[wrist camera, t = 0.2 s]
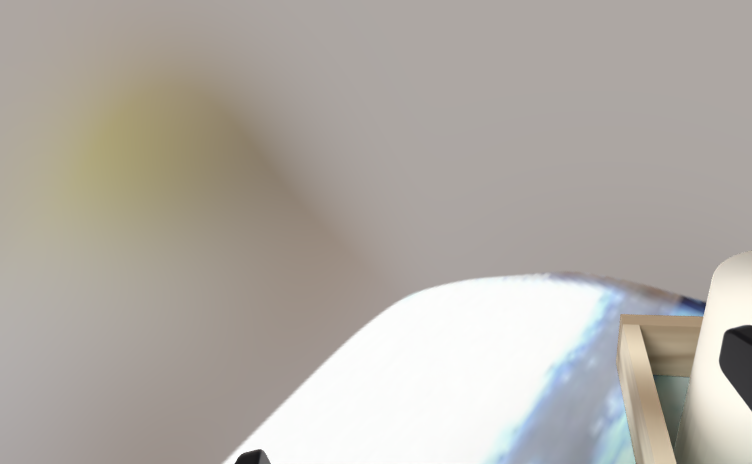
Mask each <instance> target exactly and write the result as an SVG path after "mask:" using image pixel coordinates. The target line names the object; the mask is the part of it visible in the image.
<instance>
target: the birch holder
mask: <svg viewBox="0 0 752 464" xmlns="http://www.w3.org/2000/svg"><path fill="white" fill-rule="evenodd" d="M702 321H703V317H699V316H663V315H628V314H621V315H620V326H619V337H618V347H617V358H616V364H617V369H618V374H619V379H620V385H621V390H622V395H623V400H624V405H625V410H626V415H627V420H628V425H629V430H630V435H631V441H632V446H633V451H634V456H635V461H636V464H676V460H675V456H674V452H673V449H672V445H671V441H670V438H669V434H668V430H667V426H666V423H665V419H664V415H663V412H662V408H661V404H660V400H659V397H658V393H657V389H656V386H655V382H654V378H653V375H666V376H681V377H690V375H691V370H692V366H693V362H694V357H695V353H696V348H697V344H698V339H699V335H700V330H701V326H702Z"/></svg>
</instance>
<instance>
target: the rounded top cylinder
mask: <svg viewBox="0 0 752 464" xmlns="http://www.w3.org/2000/svg"><path fill="white" fill-rule="evenodd" d="M742 325H752V250H751V251H746V252H743V253H739V254H737V255H735V256H732V257H730V258H728V259H727V260H725V261H723V262H722V263H721V264H720V265H719V266H718V267H717V268H716V270H715V272H714V274H713V276H712V281H711V286H710V290H709V295H708V299H707V303H706V308H705V312H704V317H703V321H702V326H701V330H700V335H699V339H698V344H697V348H696V353H695V357H694V362H693V366H692V370H691V375H690V379H689V384H688V388H687V393H686V397H685V402H684V406H683V411H682V415H681V420H680V424H679V429H678V433H677V438H676V442H675V448H674V456H675V460H676V464H752V411H751V410H750V409H749V407H748V406H747V405H746V403H745V402H744V401H743V399H742V398H741V397H740V395H739V394H738V393H737V391H736V390H735V389H734V387H733V386H732V385H731V383H730V382H729V381H728V379H727V378H726V377H725V375H724V374H723V372H722V370H721V368H720V365H719V355H720V350H721V345H722V340H723V335H724V333H725V331H726V330H728V329H731V328H735V327H739V326H742Z"/></svg>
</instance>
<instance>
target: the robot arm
mask: <svg viewBox="0 0 752 464" xmlns="http://www.w3.org/2000/svg"><path fill="white" fill-rule="evenodd" d="M719 365H720V368H721V370H722V372H723V374H724V375H725V377H726V378H727V379H728V381H729V382H730V383H731V385H732V386H733V387H734V389H735V390H736V391H737V393H738V394H739V395H740V397H741V398H742V399H743V401H744V402H745V403H746V405H747V406H748V407H749V409H750V410H751V411H752V325H742V326H739V327H735V328H731V329H728V330H726V331H725V333H724V335H723V340H722V345H721V350H720V355H719ZM235 464H271V463H270V461H269V459H268V457H267V455H266V453H265V452H264V451H263V450H261V449H258V450H254V451H250V452H246V453H243V454H242V455H240V456H239V457H238V459H237V461H236V462H235Z"/></svg>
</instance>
